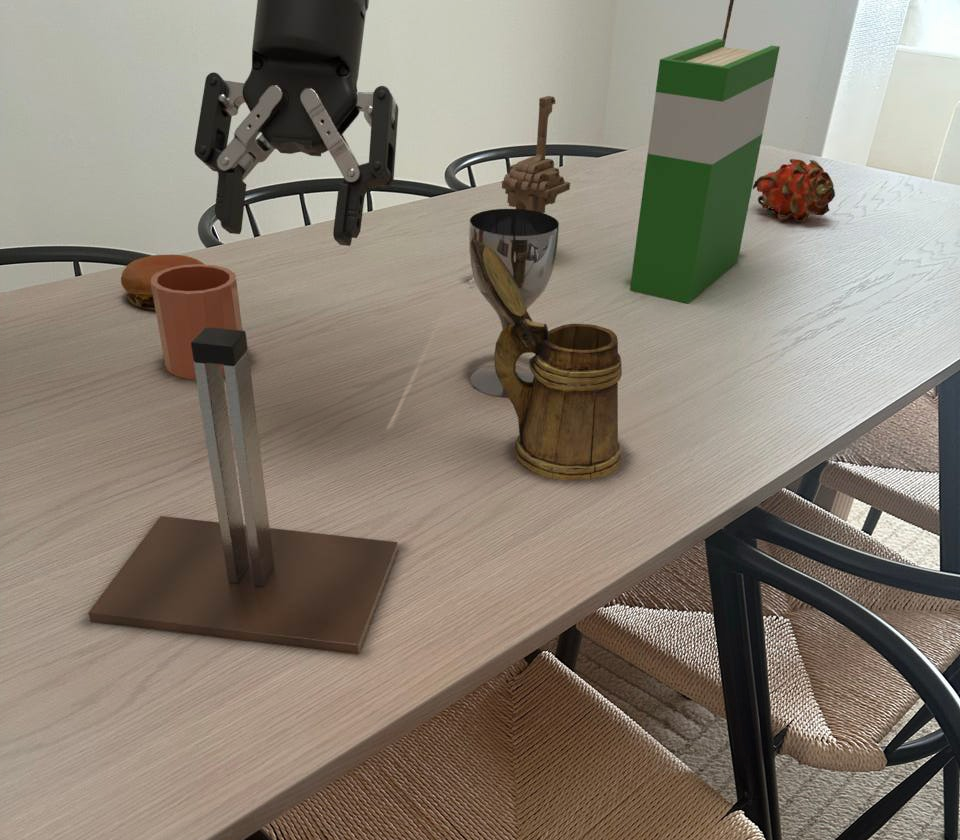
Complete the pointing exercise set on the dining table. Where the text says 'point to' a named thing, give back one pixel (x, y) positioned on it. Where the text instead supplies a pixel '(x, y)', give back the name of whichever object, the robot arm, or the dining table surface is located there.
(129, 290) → the burger
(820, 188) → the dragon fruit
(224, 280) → the holder
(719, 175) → the hardback book
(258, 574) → the tongs
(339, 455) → the dining table surface
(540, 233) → the wine glass
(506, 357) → the wooden mug
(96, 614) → the board
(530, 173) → the ostrich figurine
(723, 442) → the dining table surface
